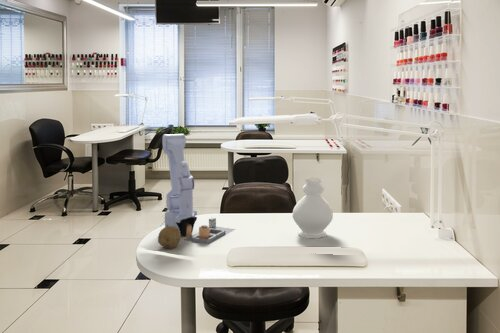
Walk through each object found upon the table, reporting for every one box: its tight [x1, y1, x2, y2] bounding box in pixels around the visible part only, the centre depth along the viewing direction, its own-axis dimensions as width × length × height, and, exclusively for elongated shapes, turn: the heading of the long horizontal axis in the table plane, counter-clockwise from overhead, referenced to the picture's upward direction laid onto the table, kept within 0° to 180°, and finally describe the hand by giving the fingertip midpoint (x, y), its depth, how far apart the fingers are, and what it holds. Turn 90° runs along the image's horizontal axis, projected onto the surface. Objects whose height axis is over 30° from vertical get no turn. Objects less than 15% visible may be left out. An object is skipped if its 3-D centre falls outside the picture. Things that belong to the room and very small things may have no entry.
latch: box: [208, 217, 217, 228], centre depth 242 cm, size 2×3×4 cm, turn 154°
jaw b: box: [182, 224, 193, 238], centre depth 230 cm, size 4×4×6 cm
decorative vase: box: [292, 177, 334, 239], centre depth 234 cm, size 18×18×25 cm
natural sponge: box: [157, 226, 182, 250], centre depth 213 cm, size 9×9×10 cm
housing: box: [183, 226, 236, 245], centre depth 231 cm, size 12×24×3 cm, turn 154°
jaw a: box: [198, 224, 210, 239], centre depth 223 cm, size 4×4×6 cm
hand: (186, 234), depth 230 cm, fingers closed on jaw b, 4 cm apart
